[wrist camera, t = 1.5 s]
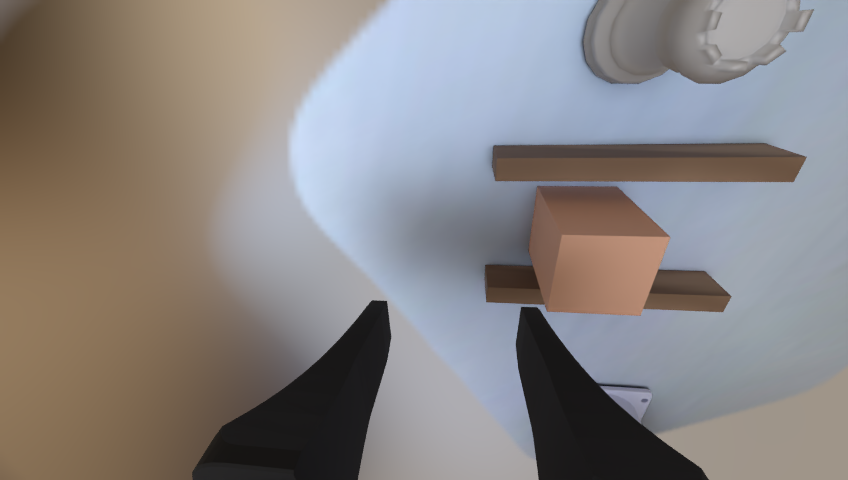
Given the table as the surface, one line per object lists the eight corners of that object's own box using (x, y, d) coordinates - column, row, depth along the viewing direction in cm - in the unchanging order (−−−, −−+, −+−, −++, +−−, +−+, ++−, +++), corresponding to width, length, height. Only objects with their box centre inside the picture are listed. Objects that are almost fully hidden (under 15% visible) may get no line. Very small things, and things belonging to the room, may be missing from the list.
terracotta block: (599, 251, 22) (640, 315, 17) (528, 249, 22) (547, 311, 17) (616, 186, 20) (670, 237, 14) (537, 186, 20) (561, 234, 15)
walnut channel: (698, 286, 22) (722, 312, 20) (484, 278, 24) (486, 302, 22) (764, 143, 18) (806, 156, 15) (493, 145, 19) (497, 158, 17)
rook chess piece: (705, -16, 15) (917, -70, 8) (650, 92, 17) (776, 124, 10) (606, -40, 15) (732, -115, 8) (565, 72, 17) (633, 91, 10)
